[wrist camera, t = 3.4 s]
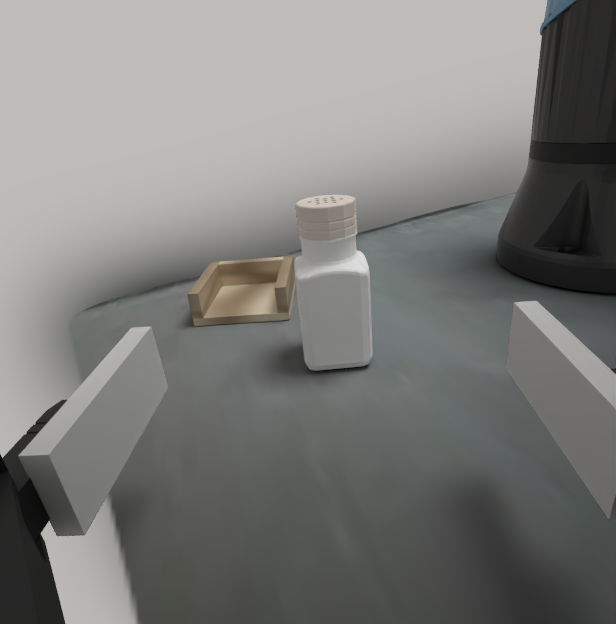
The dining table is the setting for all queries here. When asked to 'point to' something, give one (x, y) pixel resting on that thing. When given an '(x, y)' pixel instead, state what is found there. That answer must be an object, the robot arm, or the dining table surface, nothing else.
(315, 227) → the pepper shaker
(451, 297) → the dining table surface
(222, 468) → the dining table surface
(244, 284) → the tray
